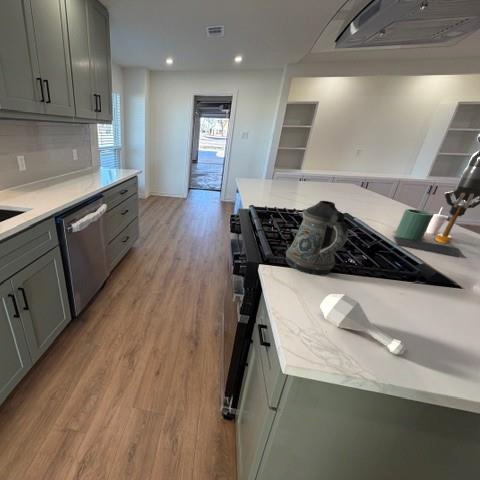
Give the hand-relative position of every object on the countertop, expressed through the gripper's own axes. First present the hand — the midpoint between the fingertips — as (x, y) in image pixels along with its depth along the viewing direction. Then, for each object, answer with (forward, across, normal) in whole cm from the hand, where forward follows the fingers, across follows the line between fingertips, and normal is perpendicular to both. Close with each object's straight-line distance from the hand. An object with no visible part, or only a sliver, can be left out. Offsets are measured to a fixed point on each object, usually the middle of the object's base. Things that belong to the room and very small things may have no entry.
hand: (455, 215), depth 116 cm
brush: (+13, 0, 0) cm, 13 cm away
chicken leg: (+14, -34, -99) cm, 106 cm away
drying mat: (+14, -8, -12) cm, 20 cm away
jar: (+14, -12, 0) cm, 18 cm away
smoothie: (+14, -1, +15) cm, 21 cm away
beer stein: (+14, -48, -66) cm, 83 cm away
